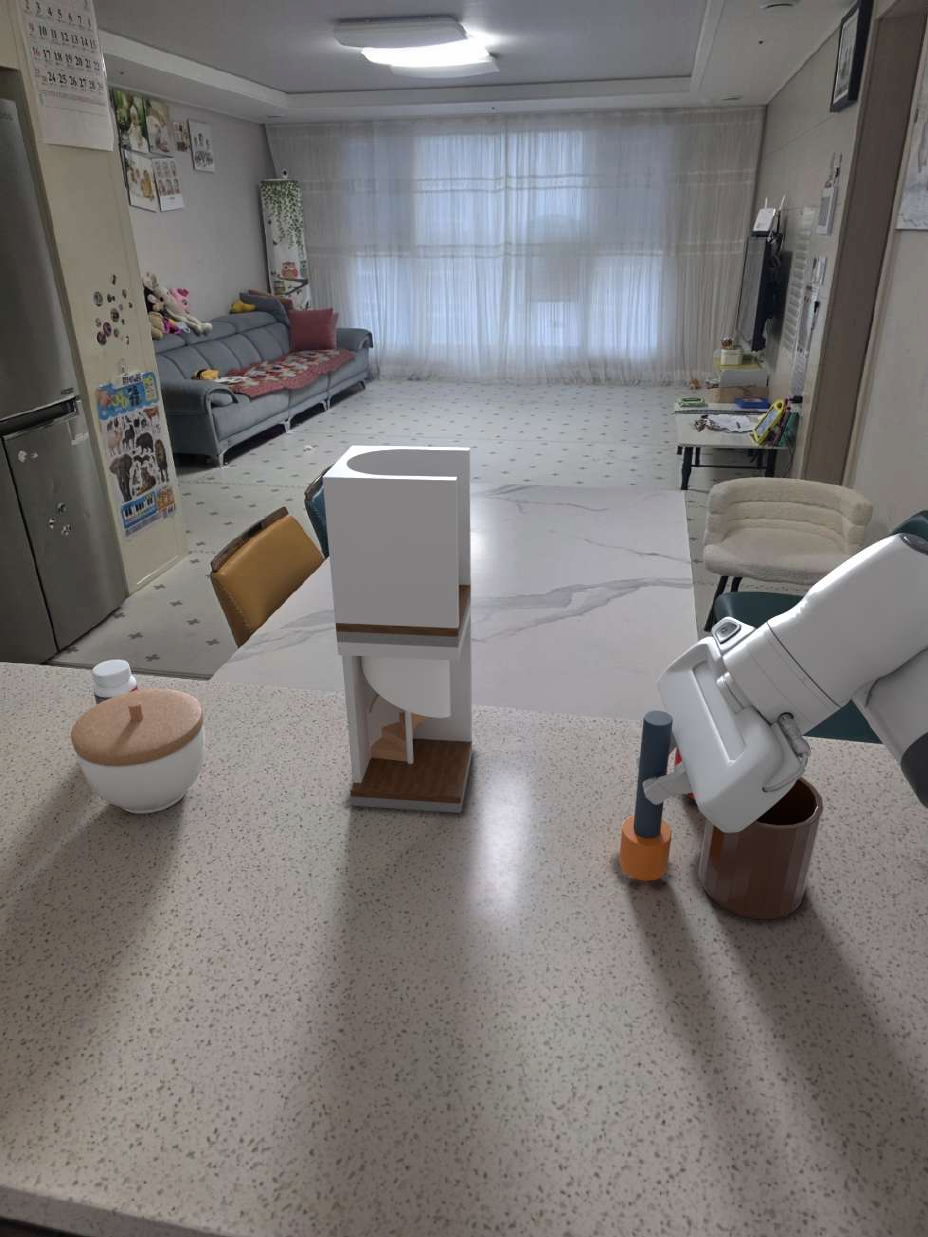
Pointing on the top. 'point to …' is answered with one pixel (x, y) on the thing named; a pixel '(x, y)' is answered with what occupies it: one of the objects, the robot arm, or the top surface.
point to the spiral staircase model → (404, 621)
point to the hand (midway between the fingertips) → (644, 781)
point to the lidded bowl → (141, 748)
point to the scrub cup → (764, 857)
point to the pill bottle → (112, 680)
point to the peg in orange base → (648, 806)
